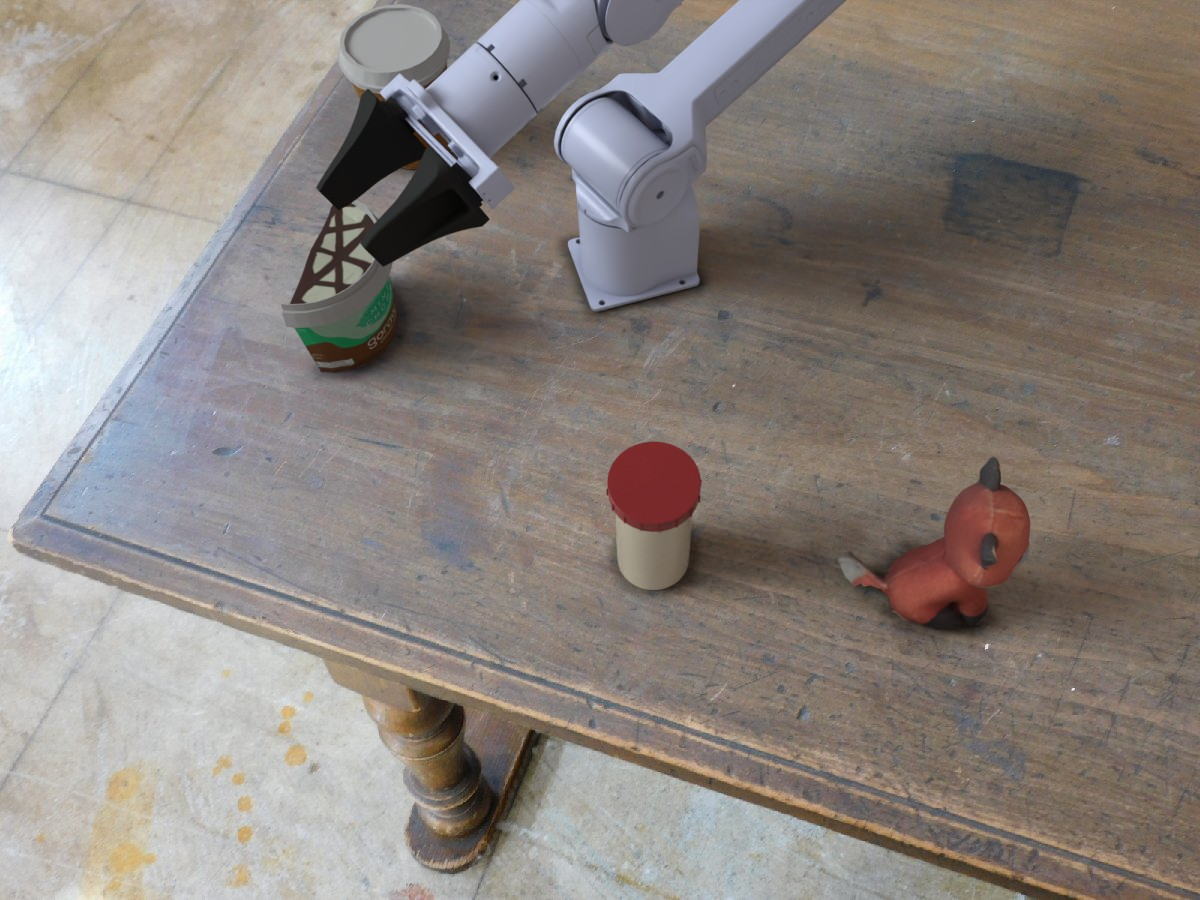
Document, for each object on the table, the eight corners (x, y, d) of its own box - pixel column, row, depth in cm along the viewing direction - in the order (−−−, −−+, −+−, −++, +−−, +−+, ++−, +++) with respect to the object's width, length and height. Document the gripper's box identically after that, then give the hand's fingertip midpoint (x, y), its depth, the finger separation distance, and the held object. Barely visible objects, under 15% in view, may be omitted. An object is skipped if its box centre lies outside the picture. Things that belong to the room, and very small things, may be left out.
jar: (675, 517, 80) (679, 440, 70) (698, 578, 77) (706, 508, 68) (608, 536, 79) (603, 461, 69) (629, 599, 76) (627, 530, 67)
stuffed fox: (831, 532, 78) (859, 449, 68) (988, 538, 78) (1041, 455, 67) (836, 630, 75) (867, 557, 64) (1002, 637, 74) (1059, 565, 64)
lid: (683, 440, 71) (683, 430, 70) (713, 517, 68) (714, 508, 67) (596, 464, 70) (595, 454, 69) (623, 543, 67) (622, 535, 66)
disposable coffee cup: (488, 132, 101) (470, 23, 90) (427, 197, 97) (400, 91, 86) (408, 96, 103) (381, -13, 93) (345, 158, 100) (310, 51, 89)
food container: (387, 398, 86) (358, 321, 77) (314, 386, 87) (278, 309, 78) (430, 278, 92) (407, 195, 83) (361, 269, 93) (332, 186, 84)
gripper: (422, -8, 69) (268, 136, 70) (529, 78, 60) (352, 244, 61) (479, 70, 75) (337, 203, 75) (585, 160, 66) (423, 311, 66)
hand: (348, 226), depth 68 cm, fingers open, 7 cm apart
